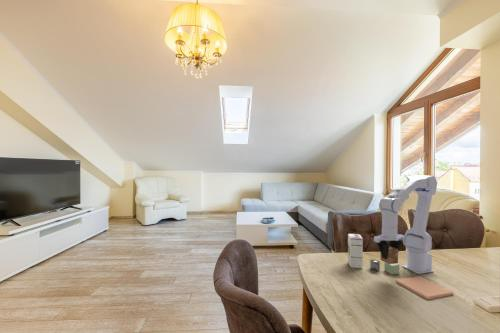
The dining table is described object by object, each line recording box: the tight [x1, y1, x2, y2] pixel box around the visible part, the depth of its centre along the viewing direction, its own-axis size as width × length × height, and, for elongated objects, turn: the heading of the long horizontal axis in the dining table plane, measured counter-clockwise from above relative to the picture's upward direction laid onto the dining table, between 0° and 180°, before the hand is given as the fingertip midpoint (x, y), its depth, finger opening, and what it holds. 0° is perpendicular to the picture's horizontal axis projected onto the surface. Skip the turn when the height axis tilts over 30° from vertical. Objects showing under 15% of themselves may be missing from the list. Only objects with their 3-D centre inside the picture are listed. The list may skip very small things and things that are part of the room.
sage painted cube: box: [383, 262, 400, 275], centre depth 106 cm, size 4×4×4 cm
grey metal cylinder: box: [369, 258, 381, 272], centre depth 109 cm, size 4×4×4 cm
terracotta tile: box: [395, 275, 454, 301], centre depth 93 cm, size 13×13×1 cm
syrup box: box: [347, 233, 364, 269], centre depth 113 cm, size 6×6×14 cm
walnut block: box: [380, 246, 399, 264], centre depth 100 cm, size 4×4×6 cm
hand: (389, 257), depth 100 cm, fingers closed on walnut block, 4 cm apart
